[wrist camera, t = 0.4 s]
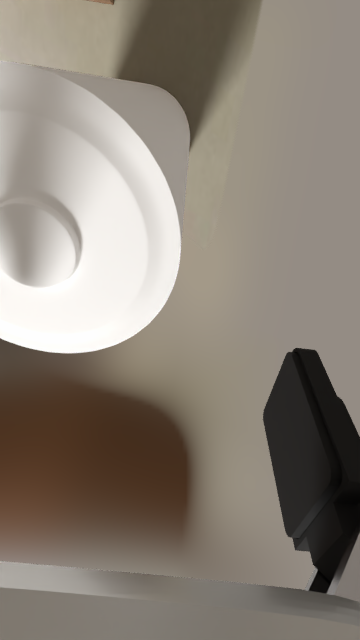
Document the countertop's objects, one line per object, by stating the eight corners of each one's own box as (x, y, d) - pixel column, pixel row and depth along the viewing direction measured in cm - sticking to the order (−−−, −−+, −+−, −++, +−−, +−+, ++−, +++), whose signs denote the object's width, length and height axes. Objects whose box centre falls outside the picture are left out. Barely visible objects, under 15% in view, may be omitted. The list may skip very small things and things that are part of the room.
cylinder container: (208, 134, 35) (244, 239, 10) (152, 202, 39) (79, 395, 14) (137, 58, 31) (-74, -65, 7) (84, 141, 35) (-168, 257, 11)
